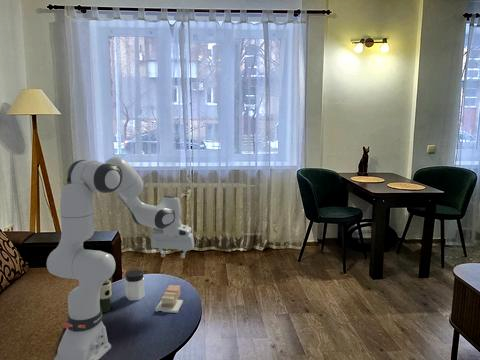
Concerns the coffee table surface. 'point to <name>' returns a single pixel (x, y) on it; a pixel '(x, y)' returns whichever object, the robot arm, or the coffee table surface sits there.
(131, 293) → the jar
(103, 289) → the character mug
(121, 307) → the coffee table surface
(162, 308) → the base plate
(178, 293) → the terracotta block
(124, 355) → the coffee table surface
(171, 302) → the maple block
